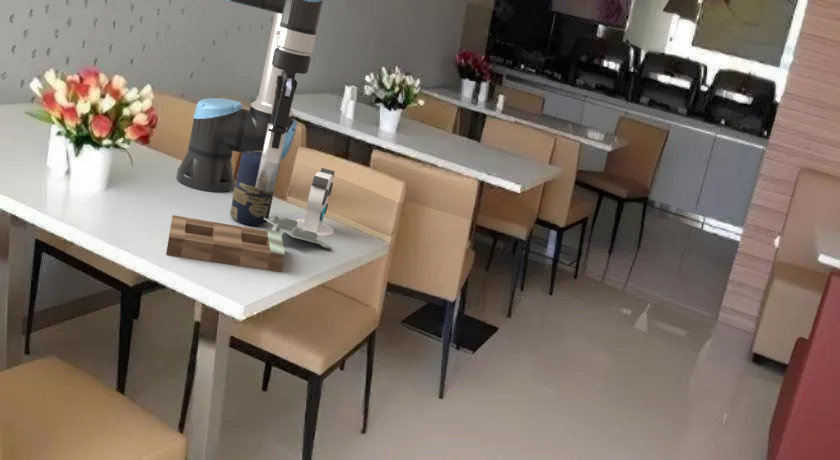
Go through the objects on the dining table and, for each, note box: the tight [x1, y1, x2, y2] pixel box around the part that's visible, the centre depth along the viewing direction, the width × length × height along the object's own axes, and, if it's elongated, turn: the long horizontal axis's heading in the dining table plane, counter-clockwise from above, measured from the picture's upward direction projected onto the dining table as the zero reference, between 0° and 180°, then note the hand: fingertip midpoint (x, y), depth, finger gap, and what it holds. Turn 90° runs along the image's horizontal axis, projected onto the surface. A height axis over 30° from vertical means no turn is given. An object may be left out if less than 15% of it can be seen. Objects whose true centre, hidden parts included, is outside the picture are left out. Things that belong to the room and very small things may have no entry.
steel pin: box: [255, 123, 287, 192], centre depth 176 cm, size 4×4×14 cm
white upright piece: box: [294, 167, 335, 237], centre depth 209 cm, size 12×11×15 cm
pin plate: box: [165, 214, 286, 273], centre depth 180 cm, size 14×24×4 cm, turn 104°
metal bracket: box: [264, 214, 333, 250], centre depth 198 cm, size 14×6×15 cm
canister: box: [229, 151, 281, 226], centre depth 202 cm, size 10×10×18 cm
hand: (270, 159), depth 176 cm, fingers closed on steel pin, 4 cm apart
